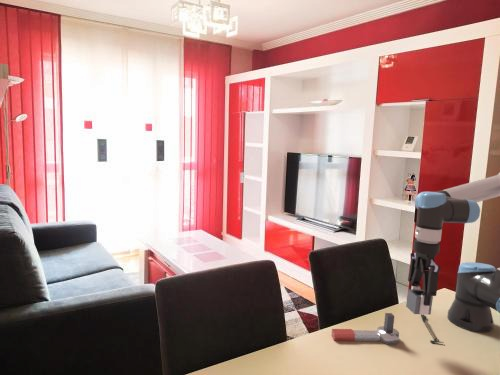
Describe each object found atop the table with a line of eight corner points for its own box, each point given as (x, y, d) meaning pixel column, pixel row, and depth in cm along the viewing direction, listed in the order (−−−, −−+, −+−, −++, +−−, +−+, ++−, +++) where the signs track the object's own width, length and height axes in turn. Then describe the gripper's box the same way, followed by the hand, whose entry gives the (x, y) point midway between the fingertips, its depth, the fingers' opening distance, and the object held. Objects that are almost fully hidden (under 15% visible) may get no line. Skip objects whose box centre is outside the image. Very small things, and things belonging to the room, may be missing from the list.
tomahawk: (452, 350, 125) (452, 347, 125) (430, 345, 126) (431, 342, 126) (437, 320, 145) (437, 317, 145) (418, 316, 146) (419, 313, 146)
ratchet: (392, 333, 131) (395, 310, 130) (401, 344, 124) (404, 319, 123) (329, 332, 130) (331, 308, 129) (335, 343, 123) (337, 318, 122)
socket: (421, 306, 125) (423, 289, 124) (430, 314, 119) (433, 296, 119) (406, 306, 124) (408, 289, 124) (414, 314, 119) (416, 296, 118)
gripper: (401, 232, 128) (394, 297, 131) (432, 248, 109) (422, 323, 112) (422, 233, 128) (415, 297, 131) (456, 249, 110) (446, 323, 113)
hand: (418, 309), depth 122 cm, fingers closed on socket, 5 cm apart
